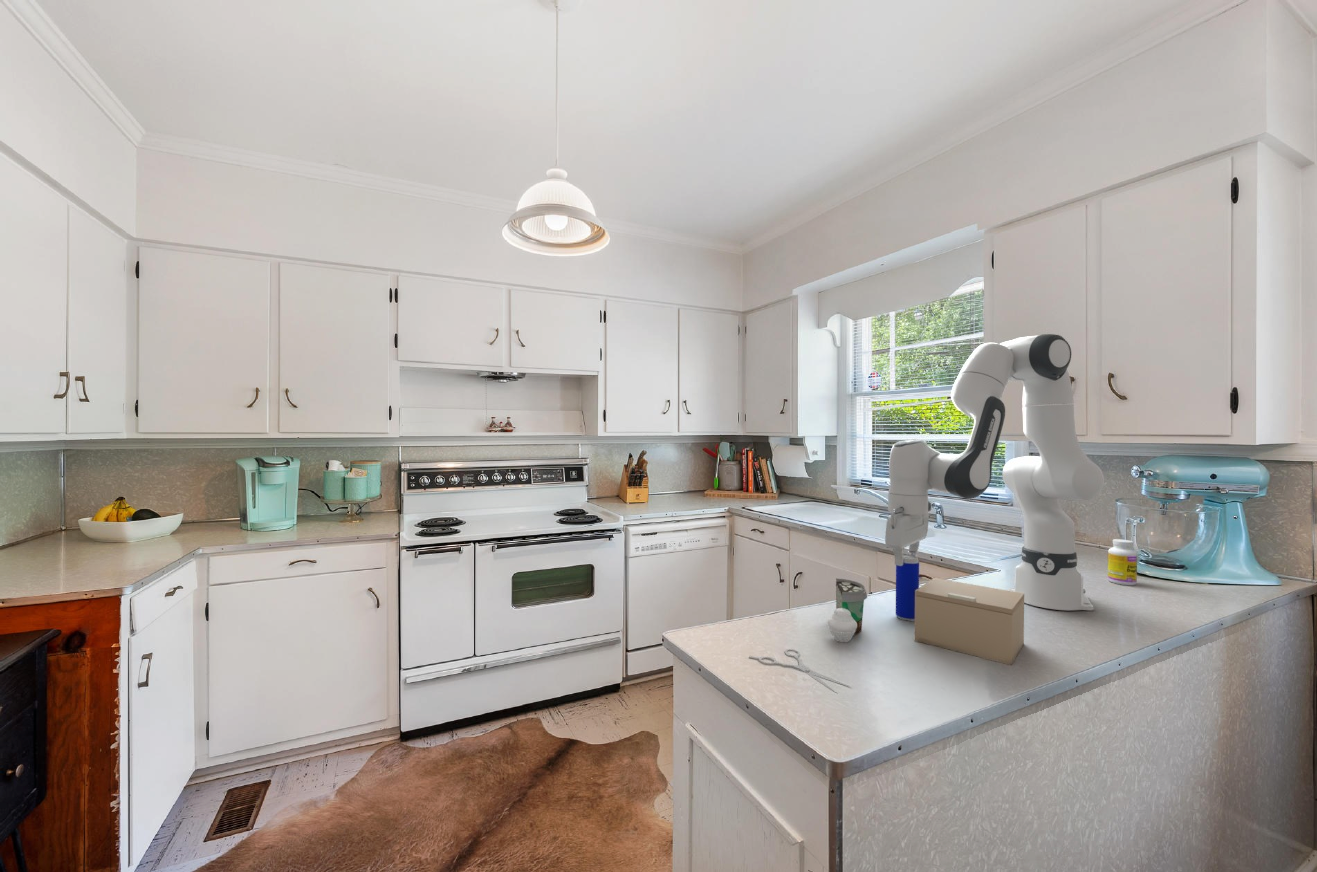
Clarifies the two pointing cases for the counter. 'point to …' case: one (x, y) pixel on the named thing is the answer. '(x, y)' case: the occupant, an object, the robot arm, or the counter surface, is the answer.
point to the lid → (971, 595)
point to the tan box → (970, 629)
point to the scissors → (798, 667)
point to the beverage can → (907, 587)
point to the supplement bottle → (1122, 563)
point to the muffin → (842, 625)
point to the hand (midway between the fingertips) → (906, 561)
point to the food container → (851, 599)
